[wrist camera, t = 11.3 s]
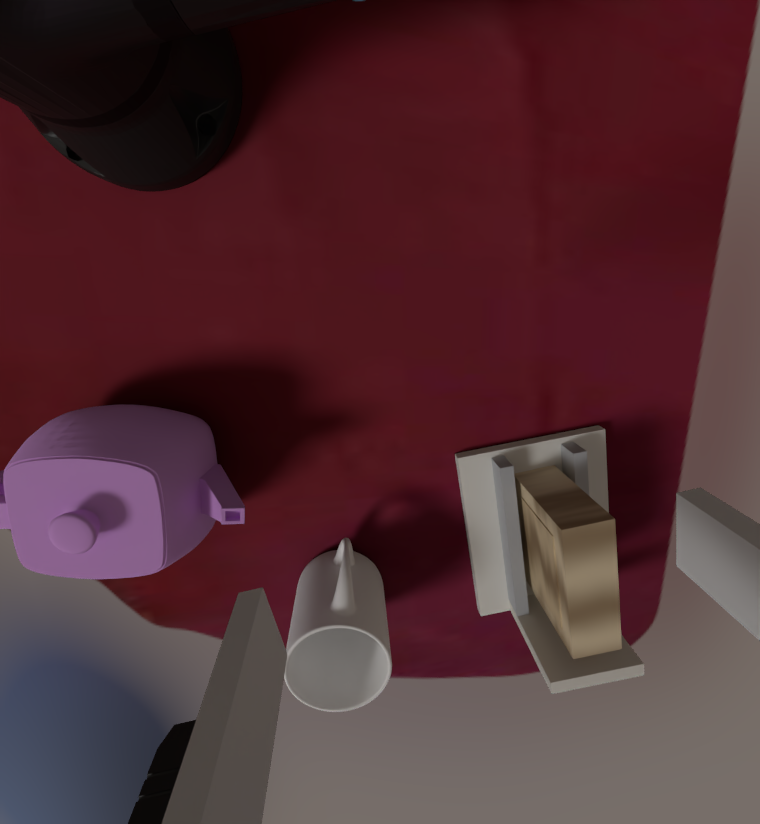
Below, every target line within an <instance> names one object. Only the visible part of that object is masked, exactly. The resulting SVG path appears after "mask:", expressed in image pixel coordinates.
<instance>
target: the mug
mask: <svg viewBox="0 0 760 824" xmlns="http://www.w3.org/2000/svg"><path fill="white" fill-rule="evenodd" d="M286 652H287V661H286V667H285V674H284V679H285V681H286V685H287V687H288V688H289V690H290V691H291V693H292V694H293V695H294V696H295V697H296V698H297V699H298V700H299V701H301V702H302V703H304V704H306V705H307V706H310V707H312V708H315V709H318V710H322V711H328V712H342V711H349V710H353V709H356V708H359V707H362V706H364V705H366V704H368V703H369V702H371V701H372V700H374V699H375V698H376V697H377V696H378V695H379V694H380V693H381V692H382V691H383V690H384V688H385V687H386V685H387V683H388V681H389V679H390V676H391V671H392V661H391V652H390V642H389V633H388V624H387V615H386V605H385V596H384V587H383V581H382V577H381V575H380V572H379V570H378V569H377V567H376V566H375V564H374V563H373V562H372V561H371V560H370V559H368V558H367V557H365V556H364V555H362V554H360V553H357V552H354V551H353V549H352V544H351V541H350V539H349V538H344V539H342V541H341V542H340V545H339V547H338V550H333V551H329V552H326V553H323V554H321V555H319V556H317V557H316V558H314V559H313V560H312V561H311V562H309V564H308V565H307V566H306V567H305V569H304V570H303V572H302V574H301V576H300V579H299V582H298V586H297V592H296V597H295V603H294V608H293V614H292V620H291V625H290V631H289V636H288V642H287V648H286Z"/></svg>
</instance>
